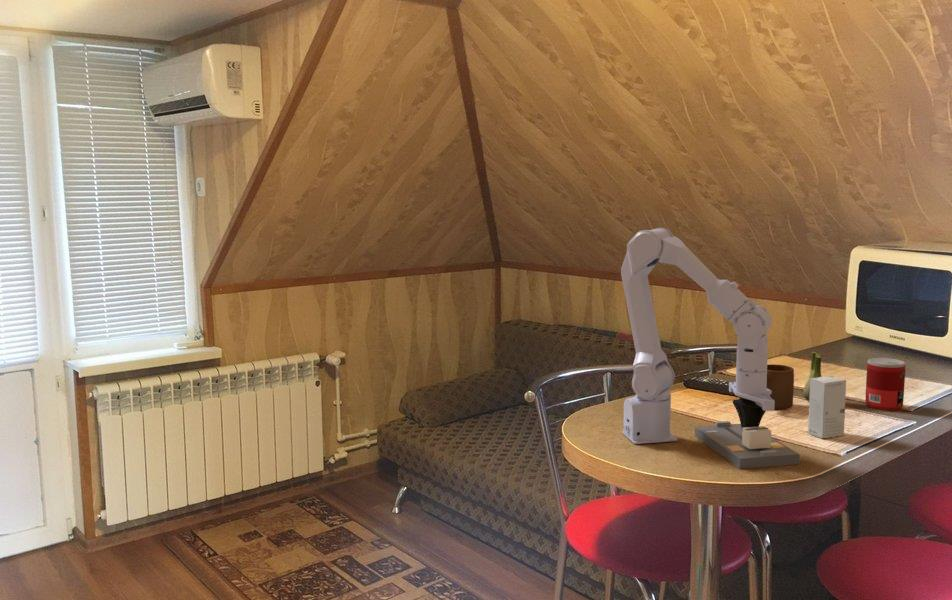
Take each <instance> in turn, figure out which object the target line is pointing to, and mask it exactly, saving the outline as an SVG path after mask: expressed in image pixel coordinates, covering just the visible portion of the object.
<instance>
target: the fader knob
mask: <svg viewBox="0 0 952 600" xmlns="http://www.w3.org/2000/svg"><path fill="white" fill-rule="evenodd" d="M771 437H772V429H769V427H766V426H764V425H761V426H760V425H759V426H757V427H743V429H742V445H744V446H745V447H747V448H748V449H759V448H771Z"/></svg>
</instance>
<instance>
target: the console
mask: <svg viewBox="0 0 952 600" xmlns="http://www.w3.org/2000/svg"><path fill="white" fill-rule="evenodd" d="M694 436H695V437H696V438H697V439H698V440H700V441H701V442H703V443H704V444H705V445H706V446H708V447H710V448H711V449H712V450H713V451H715V452H716V453H717V454H719V455H720V456H722V457H723V458H725V459H726V460H728V462H730V463H731V464H732V465H734V466H735V467H737V468H738V469H739V470H741V469H742V470H743V469H754V468H766V467H767V468H768V467H780V466H792V465H800V453H798V452H797V451H795V450H793V449H791V448H790V447H788V446H787V445H785V444H784V443H782V442H780V441H779V440H778V439H777V440H776V439H775V438H774V437H772V436H771V448H759V449H748V448H747V447H745V446H744V445H742V428H741V423H732V424H731V421H729V420H721V421H720V420H719V421H715V422H714V425H705V426H704V425H702V426H700V425H699V426H694Z"/></svg>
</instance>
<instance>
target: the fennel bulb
mask: <svg viewBox="0 0 952 600" xmlns="http://www.w3.org/2000/svg"><path fill="white" fill-rule="evenodd" d="M810 360H811V361H810V362H811V364H810V372H809V376H808V378H807V381H806V383H805V384H804V387H803V390H802V395H803V398H804V399H805V400H807V402H809V399H810V379H811V378H818V377H822V368H821V367H822V364H821V363H822V355H821V354H818V352H815V351H812V352H811V359H810Z"/></svg>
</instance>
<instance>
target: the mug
mask: <svg viewBox="0 0 952 600" xmlns="http://www.w3.org/2000/svg"><path fill="white" fill-rule="evenodd" d="M794 387H795V369H794V367H792V366H789V365H785V364H776V363H775V364H773V363H772V364H771V363H770V364H767V386H766V389H769V390H771V391H772V394H769V395H770V397H771V398H772V399H773V400H775V405H774V410H773V411H785V410H789V409H791V408H793V404H794V390H795V389H794Z"/></svg>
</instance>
